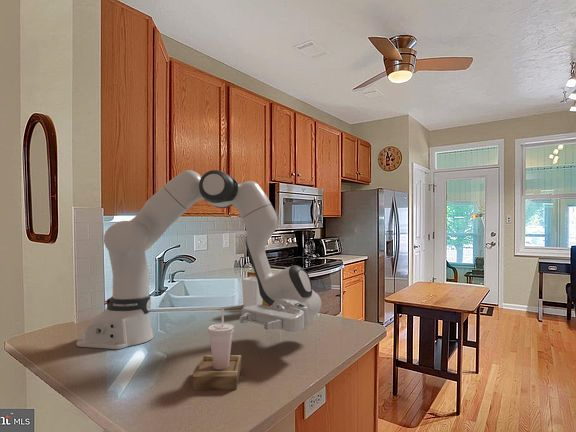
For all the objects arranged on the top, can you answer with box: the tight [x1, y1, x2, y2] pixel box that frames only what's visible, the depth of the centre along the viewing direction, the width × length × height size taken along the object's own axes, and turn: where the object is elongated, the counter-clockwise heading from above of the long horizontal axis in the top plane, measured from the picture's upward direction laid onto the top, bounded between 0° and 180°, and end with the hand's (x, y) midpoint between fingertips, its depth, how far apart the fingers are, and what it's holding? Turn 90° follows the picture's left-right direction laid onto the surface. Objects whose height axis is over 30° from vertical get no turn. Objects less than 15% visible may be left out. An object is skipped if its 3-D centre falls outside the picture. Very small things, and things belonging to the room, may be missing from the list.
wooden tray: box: [192, 354, 242, 391], centre depth 84 cm, size 10×10×4 cm
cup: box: [242, 277, 263, 308], centre depth 146 cm, size 7×7×15 cm
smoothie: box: [207, 308, 235, 370], centre depth 84 cm, size 6×6×14 cm
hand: (253, 323), depth 93 cm, fingers open, 8 cm apart
